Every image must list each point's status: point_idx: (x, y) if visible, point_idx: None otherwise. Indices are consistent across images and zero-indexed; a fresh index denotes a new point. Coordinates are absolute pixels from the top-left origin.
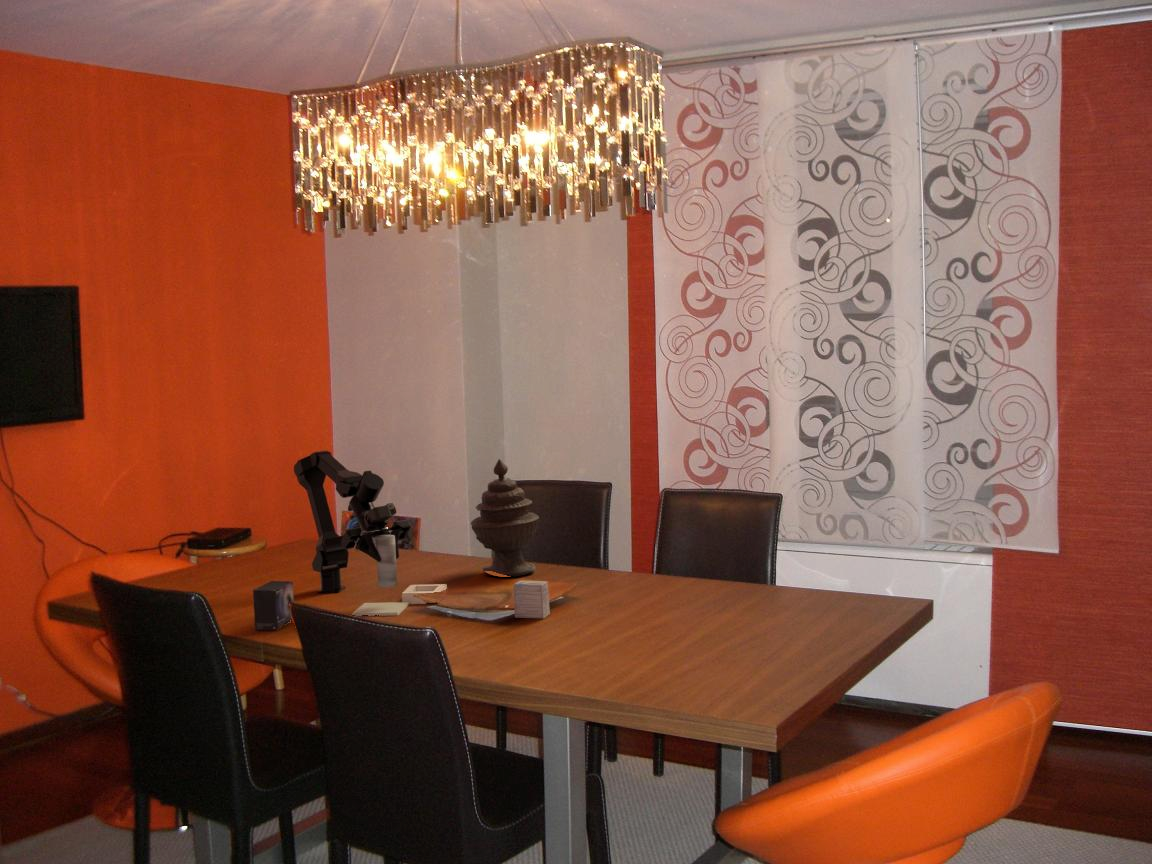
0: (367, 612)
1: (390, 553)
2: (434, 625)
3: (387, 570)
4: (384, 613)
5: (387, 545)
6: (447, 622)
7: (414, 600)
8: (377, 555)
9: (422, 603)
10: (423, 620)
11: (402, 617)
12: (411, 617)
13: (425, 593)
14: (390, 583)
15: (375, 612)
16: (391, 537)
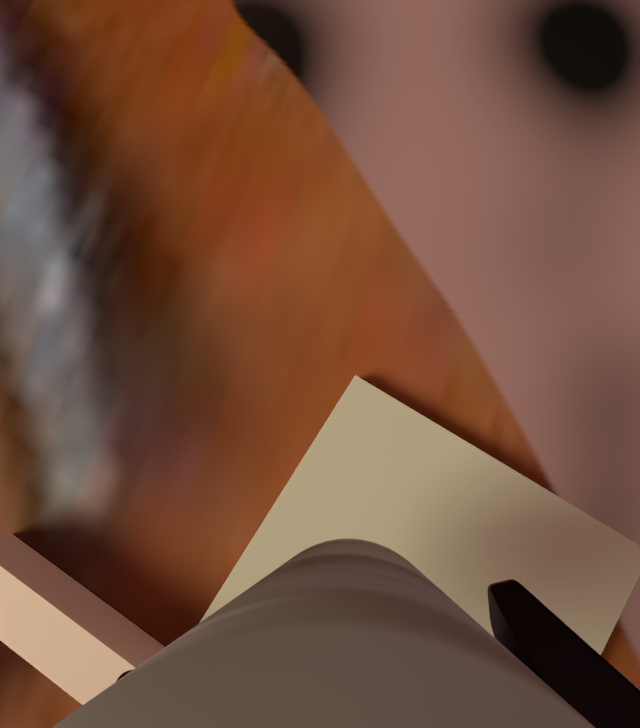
0: (542, 502)
1: (304, 568)
2: (248, 58)
3: (376, 551)
4: (434, 422)
5: (361, 590)
6: (167, 77)
7: (139, 639)
8: (570, 643)
9: (101, 602)
10: (259, 182)
11: (342, 317)
12: (295, 286)
13: (44, 595)
14: (348, 539)
15: (490, 465)
16: (143, 677)
